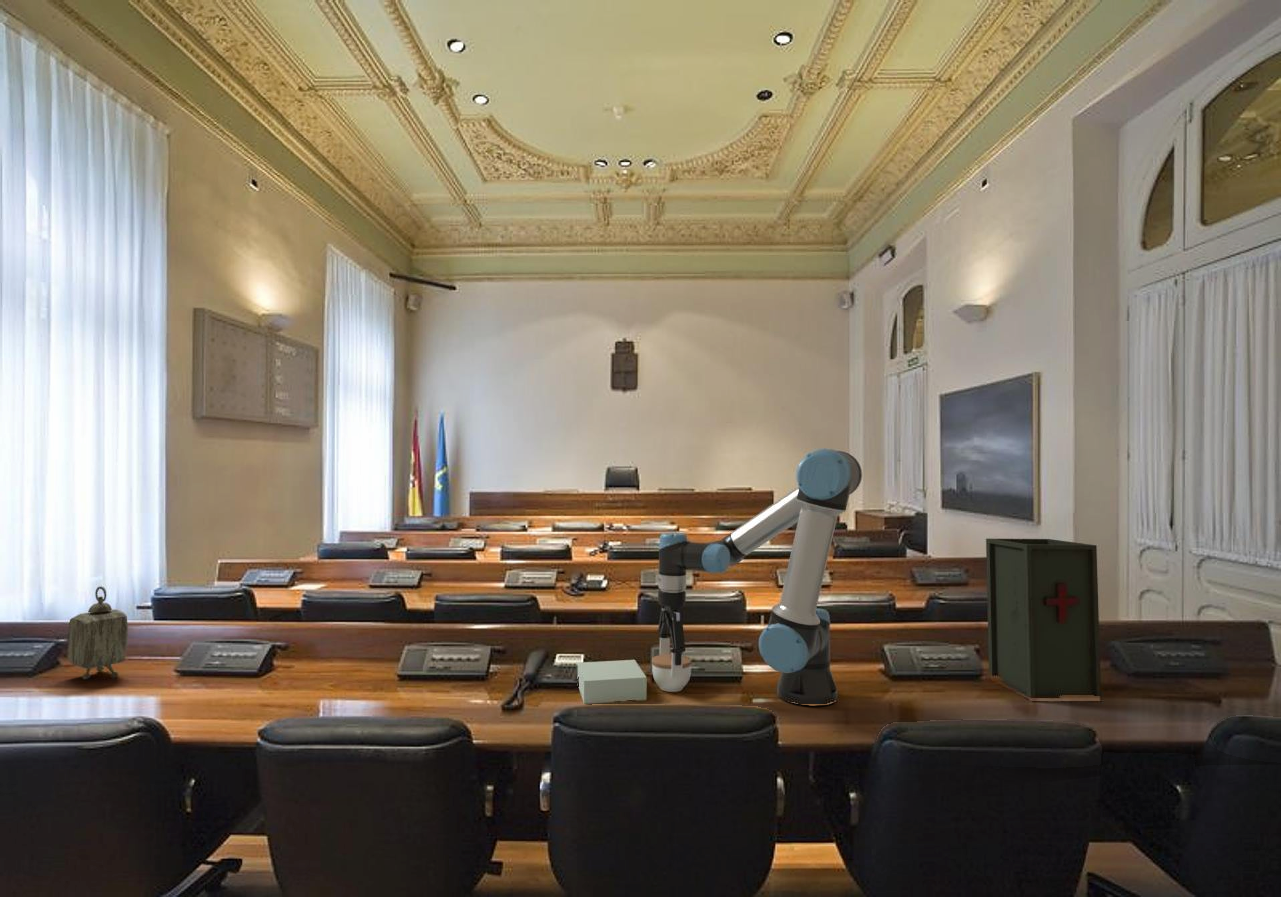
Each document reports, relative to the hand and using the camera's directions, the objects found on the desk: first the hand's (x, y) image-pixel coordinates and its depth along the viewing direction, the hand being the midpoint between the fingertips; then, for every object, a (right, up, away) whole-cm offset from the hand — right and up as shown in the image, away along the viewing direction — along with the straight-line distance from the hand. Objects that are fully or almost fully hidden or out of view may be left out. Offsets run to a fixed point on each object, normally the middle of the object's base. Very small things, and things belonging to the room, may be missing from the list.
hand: (670, 669), depth 170 cm
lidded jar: (0, -5, 0) cm, 5 cm away
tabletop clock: (-160, -4, +5) cm, 160 cm away
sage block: (-16, -5, -3) cm, 17 cm away
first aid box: (+101, -6, +1) cm, 101 cm away
